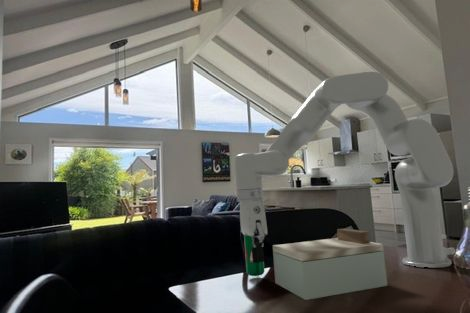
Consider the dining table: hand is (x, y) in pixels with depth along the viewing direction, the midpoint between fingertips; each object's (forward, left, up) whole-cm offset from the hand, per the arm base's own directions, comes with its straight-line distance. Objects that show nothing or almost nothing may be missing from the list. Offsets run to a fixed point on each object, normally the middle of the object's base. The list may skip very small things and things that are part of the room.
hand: (254, 259), depth 94 cm
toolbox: (-14, +15, -5) cm, 21 cm away
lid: (-14, +15, +3) cm, 21 cm away
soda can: (0, 0, -4) cm, 4 cm away
